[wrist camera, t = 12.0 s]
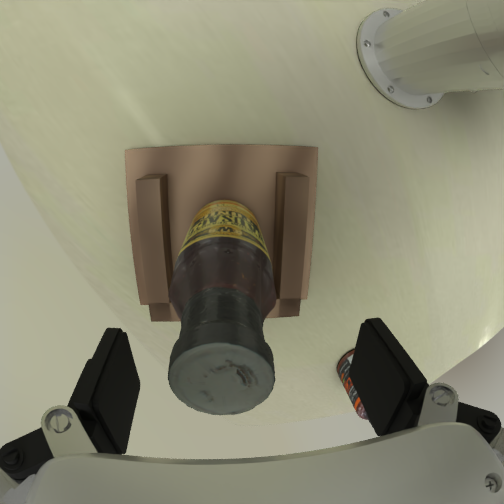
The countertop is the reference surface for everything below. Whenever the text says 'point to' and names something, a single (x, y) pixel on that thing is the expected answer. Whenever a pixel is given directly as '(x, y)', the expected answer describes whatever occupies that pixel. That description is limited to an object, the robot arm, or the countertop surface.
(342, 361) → the supplement bottle
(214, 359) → the sauce bottle
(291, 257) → the bottle stand
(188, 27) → the countertop surface
